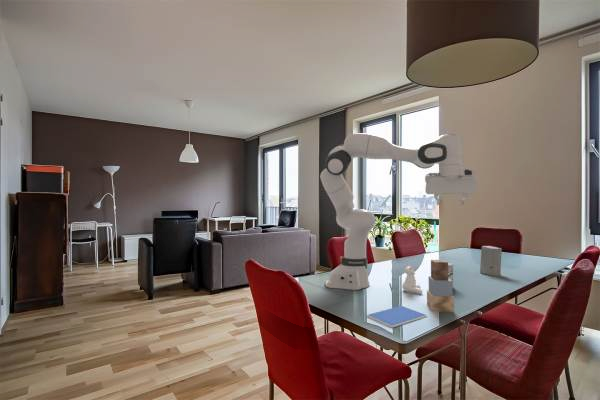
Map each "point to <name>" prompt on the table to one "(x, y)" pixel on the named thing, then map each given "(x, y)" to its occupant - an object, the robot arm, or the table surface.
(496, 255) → the skincare box
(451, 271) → the ink box
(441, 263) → the walnut block
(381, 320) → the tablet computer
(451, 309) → the oak block
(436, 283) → the slate block
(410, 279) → the seated beast figurine
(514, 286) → the table surface
